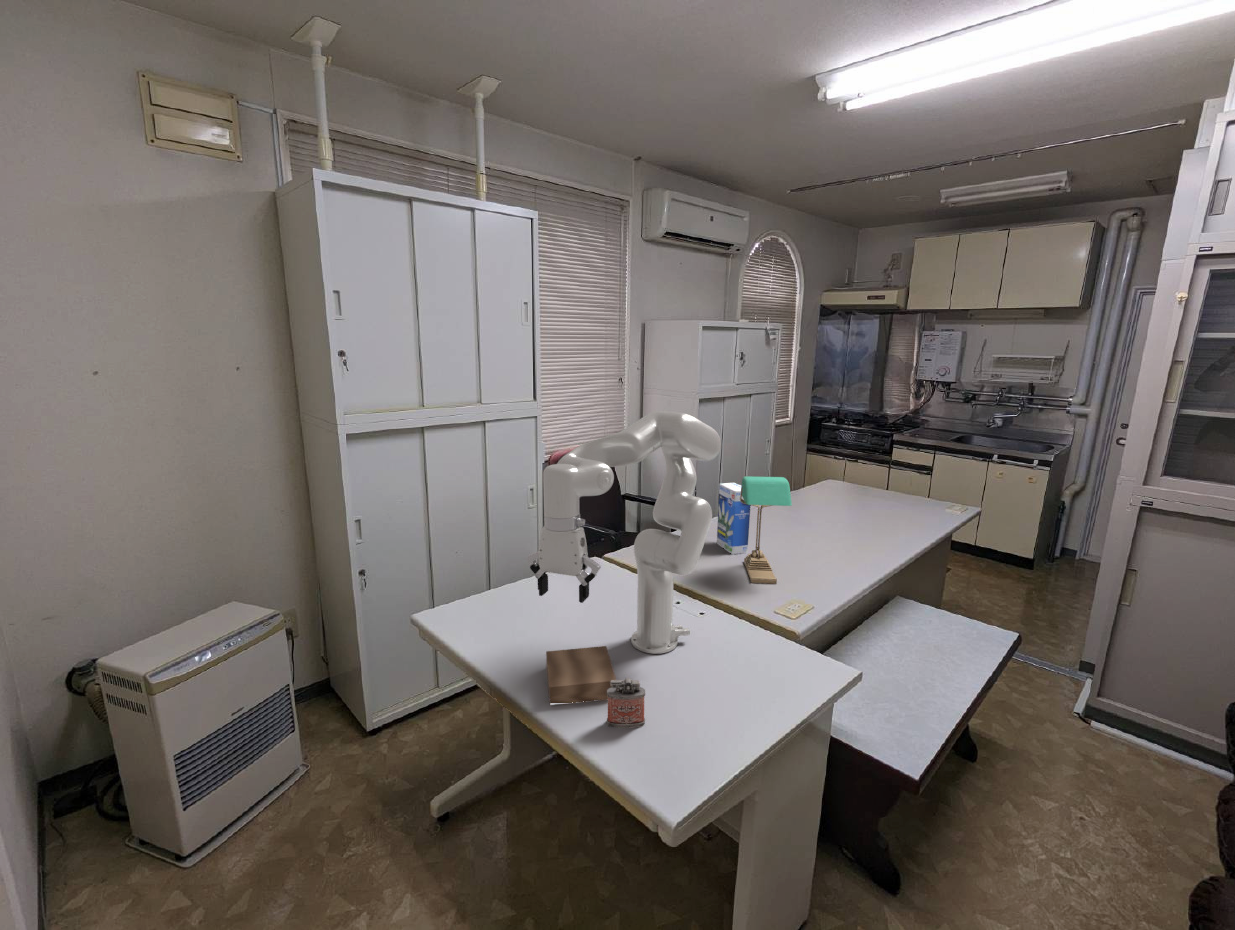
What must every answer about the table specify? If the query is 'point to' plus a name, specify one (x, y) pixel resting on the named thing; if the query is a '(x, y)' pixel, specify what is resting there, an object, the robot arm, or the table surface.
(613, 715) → the lighter
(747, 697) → the table surface
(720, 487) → the string lights box
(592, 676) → the walnut block
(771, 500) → the banker's lamp
